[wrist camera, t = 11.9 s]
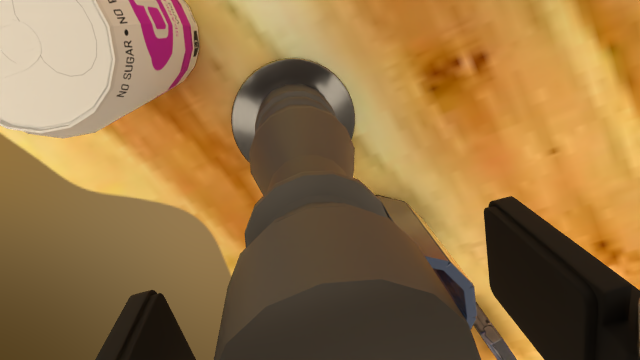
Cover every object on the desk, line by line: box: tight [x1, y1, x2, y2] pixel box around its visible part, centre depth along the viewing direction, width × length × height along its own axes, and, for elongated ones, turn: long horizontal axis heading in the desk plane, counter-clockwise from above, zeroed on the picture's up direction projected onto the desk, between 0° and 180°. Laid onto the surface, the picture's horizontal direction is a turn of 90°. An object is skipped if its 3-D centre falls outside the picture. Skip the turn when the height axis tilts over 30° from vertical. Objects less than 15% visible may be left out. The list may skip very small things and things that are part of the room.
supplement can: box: [0, 0, 200, 138], centre depth 21 cm, size 8×8×15 cm
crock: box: [377, 195, 477, 330], centre depth 33 cm, size 11×11×10 cm
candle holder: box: [214, 84, 481, 360], centre depth 20 cm, size 6×6×25 cm
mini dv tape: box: [473, 303, 517, 360], centre depth 39 cm, size 8×2×6 cm, turn 35°
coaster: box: [231, 58, 355, 162], centre depth 32 cm, size 10×10×1 cm
